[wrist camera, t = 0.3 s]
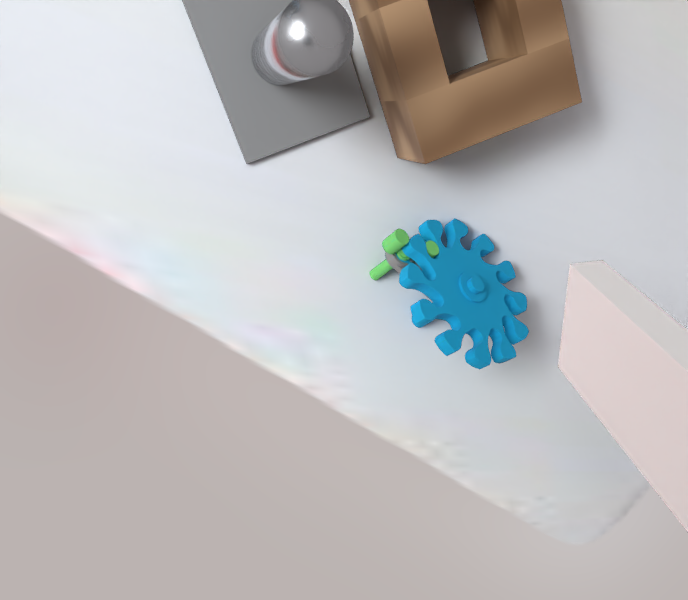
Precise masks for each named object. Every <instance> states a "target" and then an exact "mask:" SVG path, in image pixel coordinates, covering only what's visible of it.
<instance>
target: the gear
mask: <svg viewBox="0 0 688 600" xmlns="http://www.w3.org/2000/svg"><path fill="white" fill-rule="evenodd" d="M419 232H420V234H421V235H419V234H417V235H415V236H413V237H412V238H411V239H409V237H408V235H407V233H406V232H405V231H404V230H402V229H397V230H396V231H394V232H393V233H392V234H391V235H390V236H388V237H387V238H386V239H385V240H383V242H382V246H383V249H384V250H385V251H386V253H385V256H386V259H385V260H384V261H383V262H381V263H380V264H379V265H378V266H376V267H375V268H374V269H372V270H371V271H370V276H371V278H372V279H374V280H378V279H379V278H381V277H382V276H383V275H385V274H386V273H387V272H389V271H390V270H391V269H395V270H396V271H397V272H398V273H399V274H400V278H399V283H400V284H401V285H402V286H403V287H404V288H407V289H415V290H418V291H420V292H422V293H423V294H425V295H426V296H427V297H428V298H429V299H431V300H432V301H433V303H431V302H430V301H429V300H427V299H421V300H419V301H418V302H416V303H415V304H413V305H412V306H411V312H412V315H413V316H412V322H413V324H414V325H415V326H416V327H418V328H421V327H423V326H425V325H426V324H428V323H430V322H431V321H433V320H435V319H441V320H445V321H447V322H448V323H449V324H450V325H451V328H452V330H447V331H445V332H443V333H441V334H440V335H438V336H437V337H436V338H435V343H436V344H437V346H438V347H439V349H440V350H441V351H442V352H443V353H444V354H445V355H446V356H448V355H450V354H452V353H454V352H456V351H458V350H459V349H460V348H461V342H462V338H463V336H464V334H465V333H466V334H468V335H470V336H471V338H472V340H473V343H474V345H473V348H472V349H470V350H468V351H467V352H466V354H465V360H466V362H467V363H468V364H470V365H471V366H473V367H475V368H478V369H481V368H483V367H486V366H488V365H490V363H491V356H492V359H493V361H494V362H495V363H503V362H506V361H508V360H510V359H512V358H514V357H516V352H515V349H514V347H513V346H512V345H513V344H515V343H518V342H520V341H522V340H524V339H525V338H526V337H527V335H528V333H529V330H528V328H527V327H526V326H525V325H524V324H523V323H522V322H520V321H519V320H517V319H516V318H515V317H514V316H513V315H518V314H520V313H522V312H524V311H526V309H527V299H526V296H525V295H524V294H522V293H520V292H513V291H510V290H509V289H507V288H506V287H504V286H503V285H502V284H501V283H503V284H504V283H507V282H508V281H510V280H512V279H513V278H515V277H516V276H515V272H514V269H513V267H512V265H511V263H510V262H509V261H503V262H502V263H500V264H499V265H491V264H488V263H486V262H484V261H483V260H482V258H481V257H484V256H485V255H487V254H488V253H490V252H492V251H493V250H494V245H493V243H492V242H491V241H490V239H489V238H488V237H487V236H486V235H485V234H481V235H480V236H479V237H477V238H476V239H474V240H473V241H472V243H471V249H470V250H466V249H465V248H464V247H463V246H462V245H461V242H460V239H461V238H462V237H464V236H465V235H467V233H468V227H467V226H466V225H465V224H464V223H462V222H461V221H459V220H457V219H455V218H454V219H453V220H452V221H451V222H449V223H448V224H447V225H446V226H445V233H446V237H447V247H445V246H444V245H443V244H442V242H441V235H442V233H443V227H442V224H441V223H440V221H437V220H427V221H426V222H424V223H423V224H422V225H420V226H419ZM423 238H424V239H423ZM425 241H426V243H425ZM503 326H504V328H503ZM504 329H505V332H504ZM488 336H490V337H491V339H492V341H493V346H492V349H491V355H490V352H489V348H488ZM510 343H511V344H512V345H511V344H510Z"/></svg>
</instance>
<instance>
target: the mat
mask: <svg viewBox="0 0 688 600" xmlns="http://www.w3.org/2000/svg"><path fill="white" fill-rule="evenodd" d="M182 1H183V4H184V6H185V9H186V11H187V14H188V16H189V19H190V21H191V24H192V26H193V29H194V32H195V34H196V37H197V39H198V42H199V44H200V47H201V49H202V52H203V54H204V57H205V60H206V62H207V65H208V67H209V70H210V72H211V75H212V77H213V80H214V82H215V85H216V88H217V90H218V93H219V95H220V98H221V100H222V103H223V105H224V108H225V110H226V113H227V116H228V118H229V121H230V123H231V126H232V128H233V131H234V133H235V136H236V138H237V141H238V143H239V146H240V149H241V151H242V154H243V156H244V159H245V161H246V164H248V163H251V162H253V161H256V160H258V159H261V158H264V157H266V156H269V155H272V154H274V153H277V152H279V151H282V150H285V149H287V148H290V147H292V146H295V145H298V144H300V143H303V142H306V141H308V140H311V139H313V138H316V137H319V136H321V135H324V134H327V133H329V132H332V131H334V130H337V129H340V128H342V127H345V126H347V125H350V124H353V123H355V122H358V121H361V120H363V119H366V118H368V117H370V115H369V112H368V109H367V106H366V102H365V99H364V96H363V93H362V90H361V87H360V83H359V80H358V77H357V74H356V71H355V68H354V65H353V61H352V58H351V55H350V54H349V56H348V58H347V59H346V61H345V62H344V63H343V64H342V66H340V67H339V68H338V69H337V70H335V71H334V72H331V73H329V74H326V75H322V76H318V77H314V78H310V79H306V80H302V81H298V82H294V83H290V84H286V85H275V84H271V83H269V82H267V81H265V80H264V79H263V78H262V77H261V76H260V75H259V74H258V73H257V71H256V70H255V68H254V66H253V62H252V56H251V52H252V46H253V43H254V41H255V39H256V37H257V36H258V35H259V34H260V33H261V32H262V31H263V30H264V29H265V28H266V27H267V26H268V25H269V24H270V23H271V22H272V21H273V19H274V18H275V17H276V16H277V15H278V14H279V13H280V12H281V11H282V10H283V9H284V8H285V7H286V6H287V5H288V4H289V3H291V2H292V1H293V0H182Z"/></svg>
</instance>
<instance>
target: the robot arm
mask: <svg viewBox="0 0 688 600" xmlns="http://www.w3.org/2000/svg"><path fill="white" fill-rule="evenodd" d="M558 368H559V369H560V370H561V372H562V373H563V374H564V376H565V377H566V378H567V379H568V381H569V382H570V383H571V384H572V386H573V387H574V388H575V390H576V391H577V392H578V393H579V395H580V396H581V397H582V398H583V400H584V401H585V402H586V404H587V405H588V406H589V407H590V409H591V410H592V411H593V412H594V414H595V415H596V416H597V418H598V419H599V420H600V421H601V423H602V424H603V425H604V426H605V428H606V429H607V430H608V432H609V433H610V434H611V435H612V437H613V438H614V439H615V440H616V442H617V443H618V444H619V446H620V447H621V448H622V449H623V451H624V452H625V453H626V454H627V456H628V457H629V458H630V459H631V461H632V462H633V463H634V465H635V466H636V467H637V468H638V470H639V471H640V472H641V473H642V475H643V476H644V477H645V479H646V480H647V481H648V482H649V484H650V485H651V486H652V487H653V489H654V490H655V491H656V493H657V494H658V495H659V496H660V498H661V499H662V500H663V501H664V503H665V504H666V505H667V507H668V508H669V509H670V510H671V512H672V513H673V514H674V515H675V517H676V518H677V519H678V521H679V522H680V523H681V524H682V526H683V527H684V528H685V529H686V531H687V532H688V330H687V329H686V328H684V327H683V326H682V325H681V324H680V323H678V322H677V321H676V320H675V319H674V318H672V317H671V316H670V315H669V314H667V313H666V312H665V311H664V310H663V309H661V308H660V307H659V306H658V305H656V304H655V303H654V302H653V301H652V300H650V299H649V298H648V297H647V296H646V295H644V294H643V293H642V292H641V291H639V290H638V289H637V288H636V287H635V286H633V285H632V284H631V283H630V282H629V281H627V280H626V279H625V278H624V277H622V276H621V275H620V274H619V273H618V272H616V271H615V270H614V269H613V268H611V267H610V266H609V265H608V264H607V263H605V262H604V261H603V260H599V261H591V262H582V263H573V264H570V267H569V276H568V284H567V293H566V301H565V310H564V318H563V327H562V335H561V344H560V352H559V361H558Z"/></svg>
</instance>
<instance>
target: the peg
mask: <svg viewBox="0 0 688 600" xmlns="http://www.w3.org/2000/svg"><path fill="white" fill-rule="evenodd" d="M352 45H353V27H352V23H351V20H350V17H349V15H348V13H347V12H346V10H345V9H344V8H343V6H342V5H341V4H340V3H339V2H337V1H336V0H293V1H292V2H291V3H289V4H288V5H287V6H286V7H285V8H284V9H283V10H282V11H281V12H280V13H279V14H278V15H277V16H276V17H275V18H274V19H273V21H272V22H271V23H270V24H269V25H268V26H267V27H266V28H265V29H264V30H263V31H262V32H261V33H260V34H259V35H258V36H257V37H256V39H255V41H254V43H253V46H252V52H251V56H252V62H253V66H254V68H255V70H256V71H257V73H258V74H259V75H260V76H261V77H262V78H263V79H264V80H265V81H267V82H269V83H271V84H275V85H286V84H290V83H294V82H298V81H302V80H306V79H310V78H314V77H318V76H322V75H326V74H329V73H331V72H334V71H335V70H337V69H338V68H339V67H340V66H342V64H343V63H344V62H345V61H346V59H347V58H348V56H349V54H350V52H351V49H352Z"/></svg>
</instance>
